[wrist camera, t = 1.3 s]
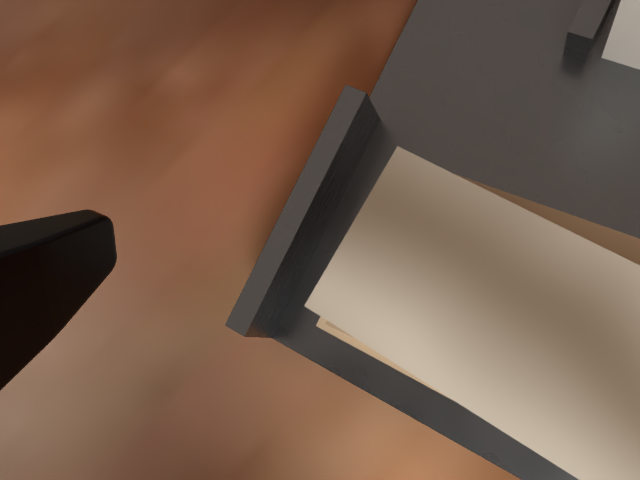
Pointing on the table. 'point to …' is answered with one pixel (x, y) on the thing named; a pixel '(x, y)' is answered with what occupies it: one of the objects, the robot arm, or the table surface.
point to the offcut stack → (497, 311)
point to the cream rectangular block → (625, 35)
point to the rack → (458, 170)
